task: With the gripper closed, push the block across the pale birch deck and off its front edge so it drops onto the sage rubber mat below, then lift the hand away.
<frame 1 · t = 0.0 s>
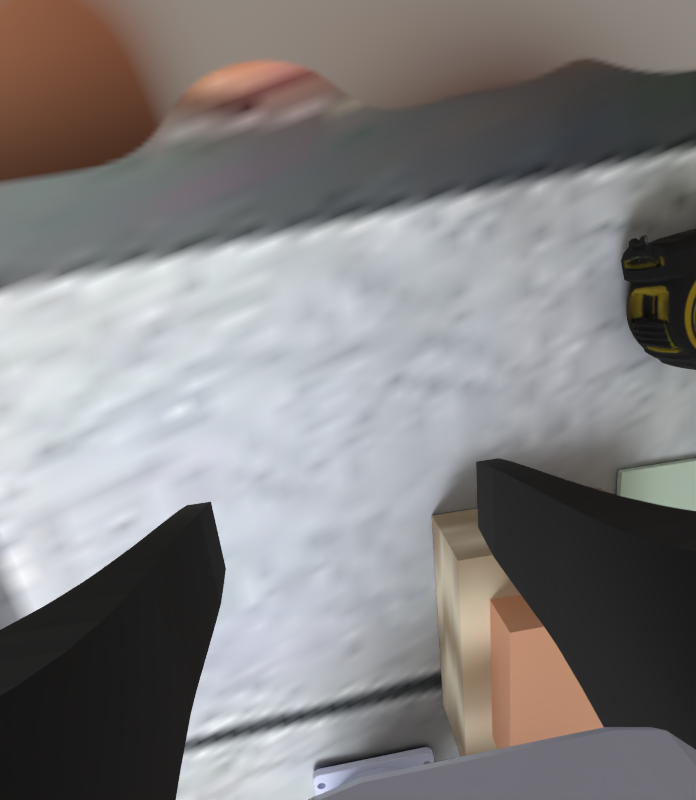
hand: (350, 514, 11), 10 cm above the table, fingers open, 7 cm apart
tape measure: (662, 283, 21), on the table
deck: (517, 603, 25), on the table
block: (546, 661, 21), point 4 cm above the table, touching deck
mat: (683, 573, 26), on the table
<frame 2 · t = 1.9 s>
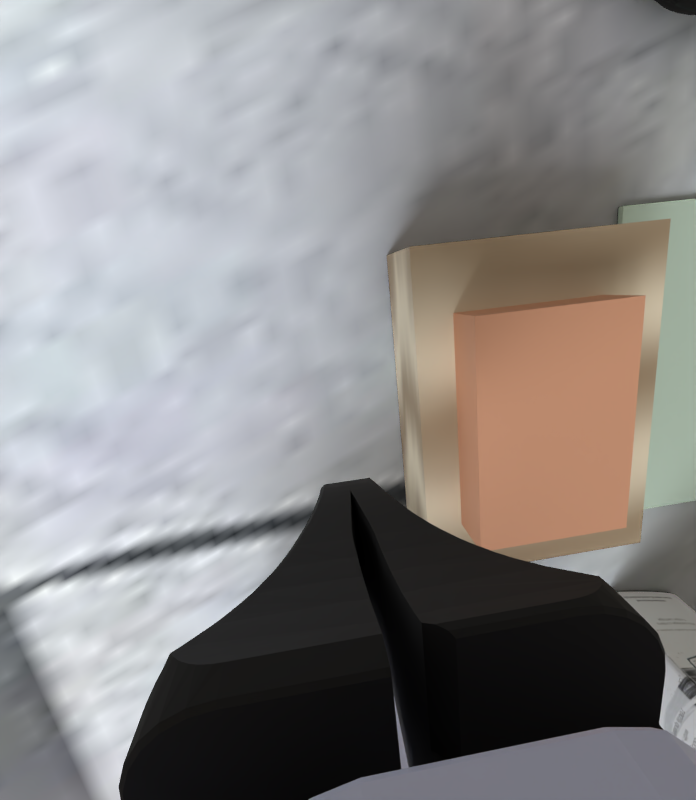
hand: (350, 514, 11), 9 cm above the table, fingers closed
ink box: (617, 644, 26), on the table
deck: (495, 391, 21), on the table
block: (528, 415, 17), point 4 cm above the table, touching deck
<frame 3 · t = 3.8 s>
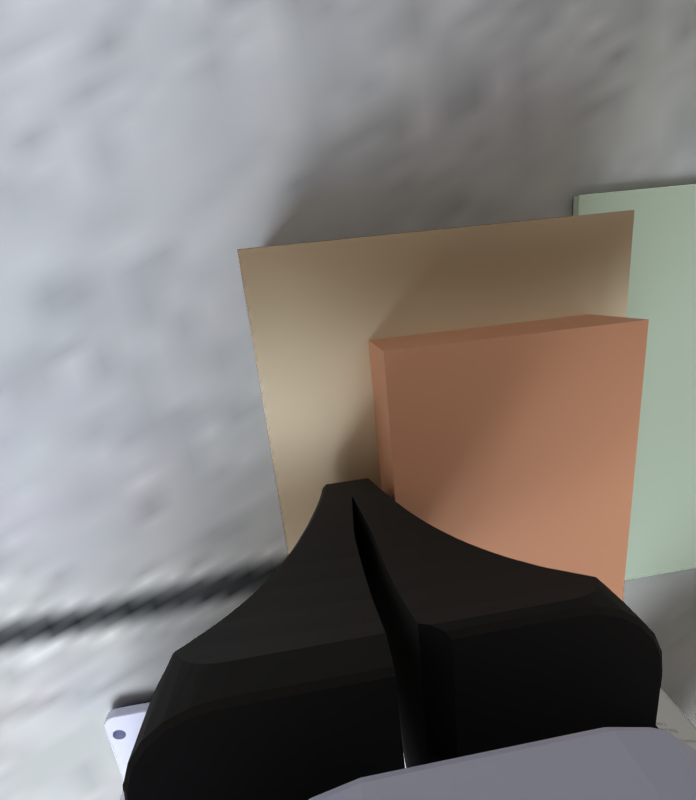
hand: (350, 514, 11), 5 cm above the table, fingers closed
ink box: (585, 737, 22), on the table
deck: (416, 438, 16), on the table
block: (483, 481, 12), point 4 cm above the table, touching deck, gripper
mat: (681, 401, 17), on the table
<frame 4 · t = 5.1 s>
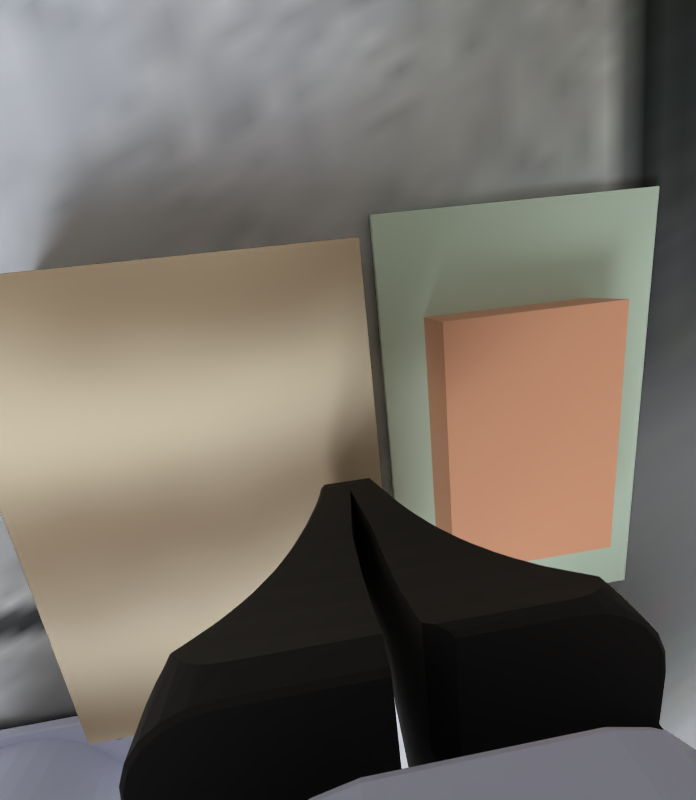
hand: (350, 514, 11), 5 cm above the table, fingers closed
deck: (229, 464, 15), on the table
block: (535, 446, 14), point 2 cm above the table, tilted 180°, touching mat
mat: (514, 424, 16), on the table
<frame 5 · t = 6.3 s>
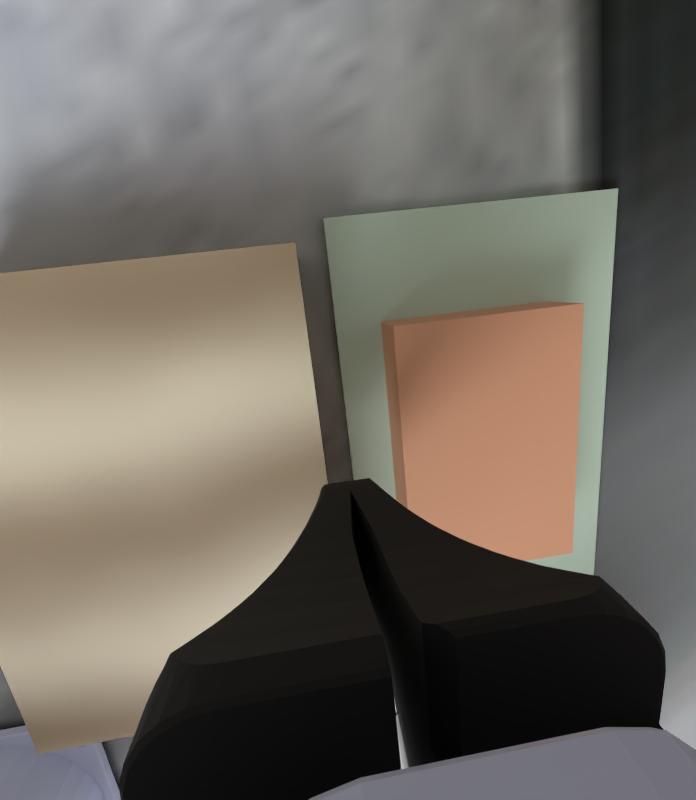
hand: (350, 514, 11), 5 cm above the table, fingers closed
deck: (187, 470, 15), on the table
block: (492, 451, 14), point 2 cm above the table, tilted 180°, touching mat
mat: (477, 428, 16), on the table
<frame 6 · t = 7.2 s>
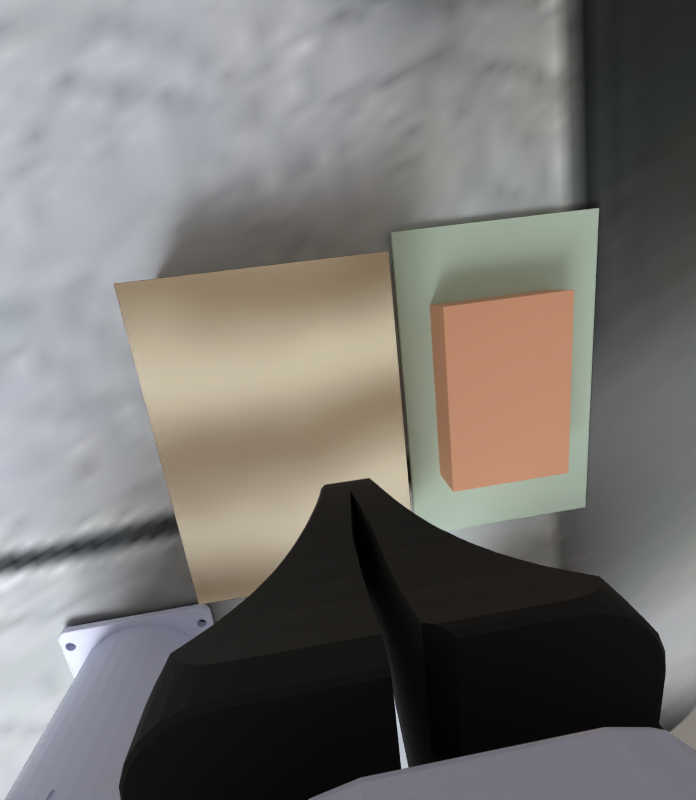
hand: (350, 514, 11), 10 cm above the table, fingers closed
deck: (287, 415, 21), on the table
block: (510, 396, 19), point 2 cm above the table, tilted 180°, touching mat
mat: (497, 384, 22), on the table
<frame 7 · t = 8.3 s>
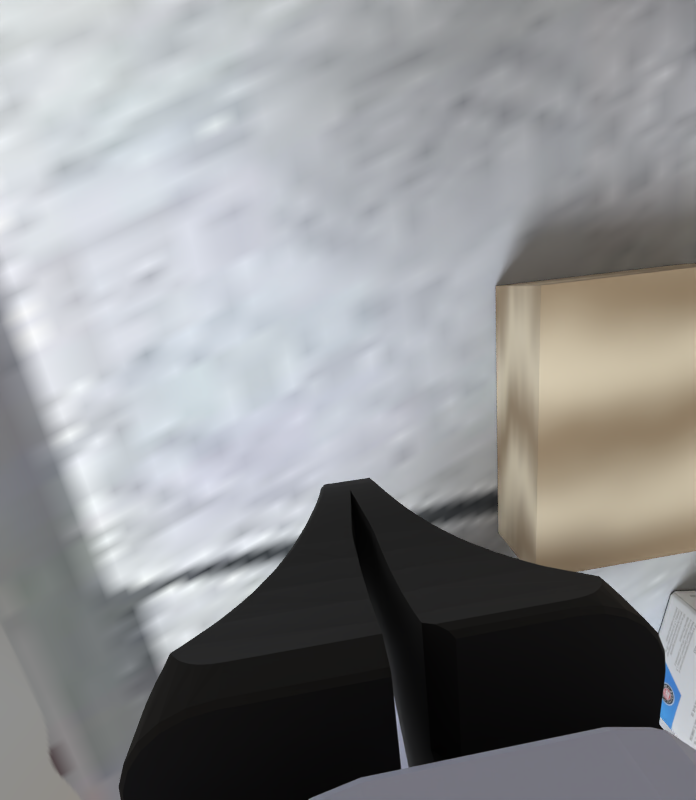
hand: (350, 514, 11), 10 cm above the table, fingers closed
ink box: (679, 639, 28), on the table
deck: (584, 407, 23), on the table
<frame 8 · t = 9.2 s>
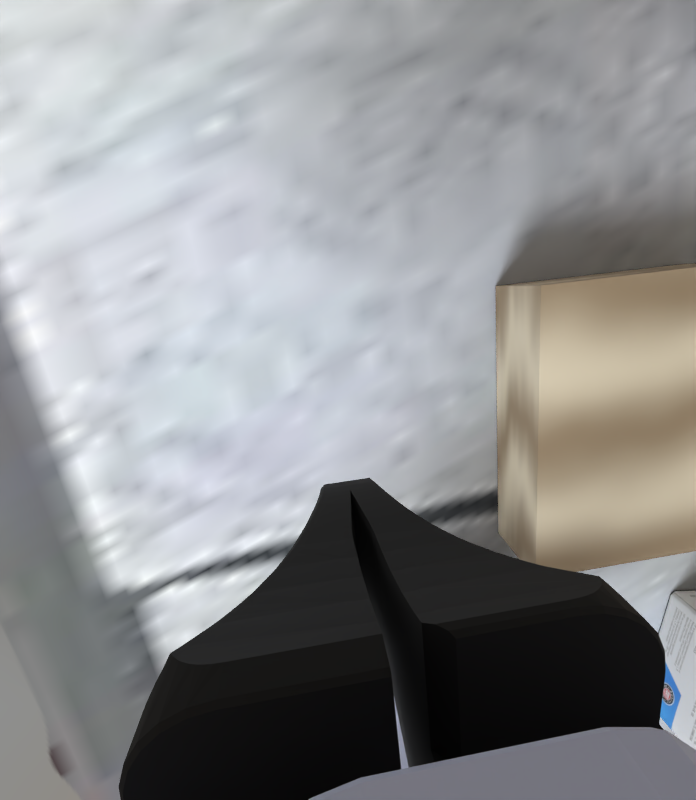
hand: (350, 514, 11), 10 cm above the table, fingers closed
ink box: (679, 639, 28), on the table
deck: (584, 407, 23), on the table
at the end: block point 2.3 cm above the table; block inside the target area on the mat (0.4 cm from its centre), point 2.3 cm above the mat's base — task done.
